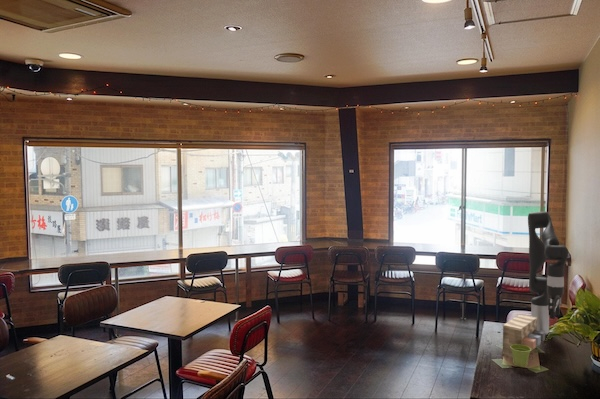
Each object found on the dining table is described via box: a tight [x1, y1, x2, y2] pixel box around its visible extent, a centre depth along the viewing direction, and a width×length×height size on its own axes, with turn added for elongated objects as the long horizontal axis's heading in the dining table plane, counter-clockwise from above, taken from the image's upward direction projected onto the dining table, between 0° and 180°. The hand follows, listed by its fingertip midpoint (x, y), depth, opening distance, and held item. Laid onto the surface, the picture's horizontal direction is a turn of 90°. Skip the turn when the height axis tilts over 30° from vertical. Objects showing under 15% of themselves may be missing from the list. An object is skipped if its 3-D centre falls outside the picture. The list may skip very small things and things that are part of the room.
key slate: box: [528, 334, 542, 346], centre depth 247 cm, size 4×6×4 cm, turn 47°
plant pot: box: [510, 344, 532, 368], centre depth 234 cm, size 9×9×9 cm
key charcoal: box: [532, 330, 546, 342], centre depth 253 cm, size 4×6×4 cm, turn 47°
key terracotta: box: [523, 337, 537, 350], centre depth 242 cm, size 4×6×4 cm, turn 47°
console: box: [502, 313, 538, 359], centre depth 252 cm, size 25×9×16 cm, turn 137°
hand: (554, 316), depth 240 cm, fingers open, 7 cm apart
